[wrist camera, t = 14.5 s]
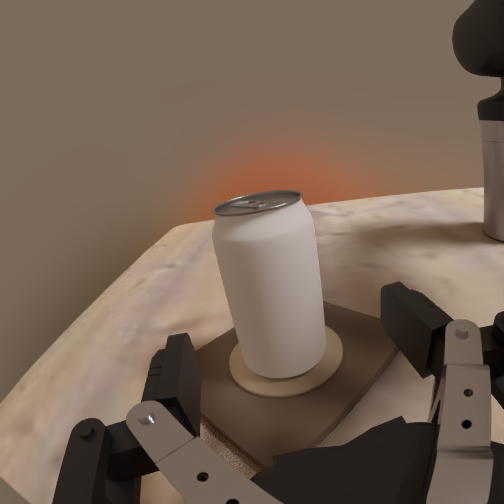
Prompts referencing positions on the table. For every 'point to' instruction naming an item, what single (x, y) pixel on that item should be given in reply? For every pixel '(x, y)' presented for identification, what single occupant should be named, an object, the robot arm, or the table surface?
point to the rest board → (292, 388)
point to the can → (272, 281)
